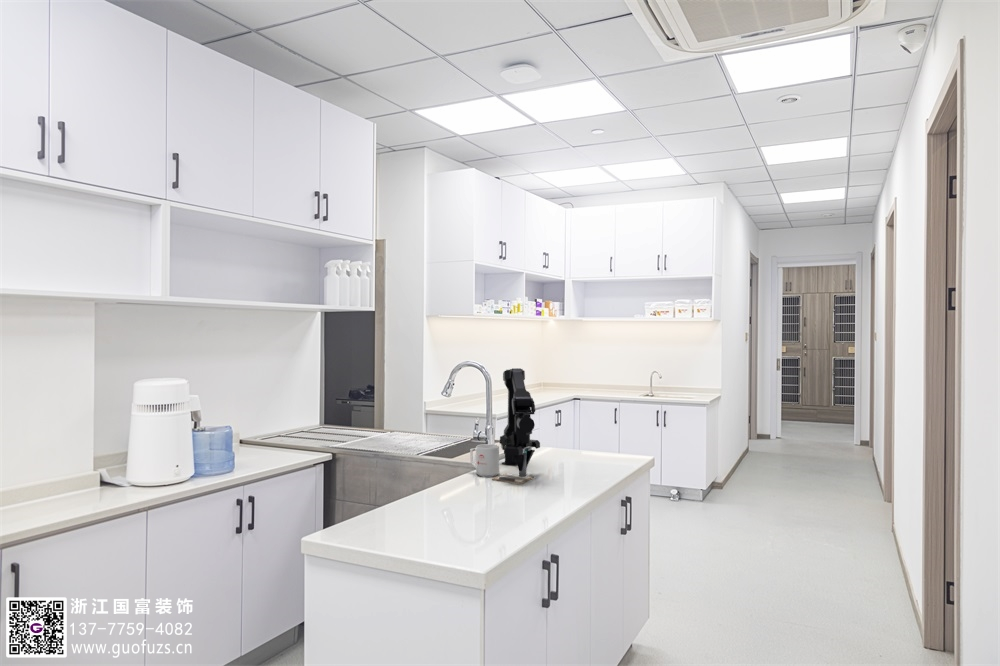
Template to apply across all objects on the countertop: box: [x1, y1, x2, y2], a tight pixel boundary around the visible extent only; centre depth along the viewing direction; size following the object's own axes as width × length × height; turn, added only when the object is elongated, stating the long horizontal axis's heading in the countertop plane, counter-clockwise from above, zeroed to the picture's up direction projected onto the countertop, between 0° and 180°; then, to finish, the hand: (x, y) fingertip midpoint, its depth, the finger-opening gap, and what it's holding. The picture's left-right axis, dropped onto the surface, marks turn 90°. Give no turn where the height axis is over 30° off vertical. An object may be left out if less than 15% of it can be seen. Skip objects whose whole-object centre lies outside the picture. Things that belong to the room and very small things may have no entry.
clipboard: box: [491, 473, 535, 485], centre depth 252 cm, size 11×12×1 cm
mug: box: [469, 443, 500, 478], centre depth 259 cm, size 12×9×11 cm
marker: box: [518, 450, 527, 477], centre depth 251 cm, size 3×3×9 cm
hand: (522, 470), depth 251 cm, fingers closed on marker, 3 cm apart
